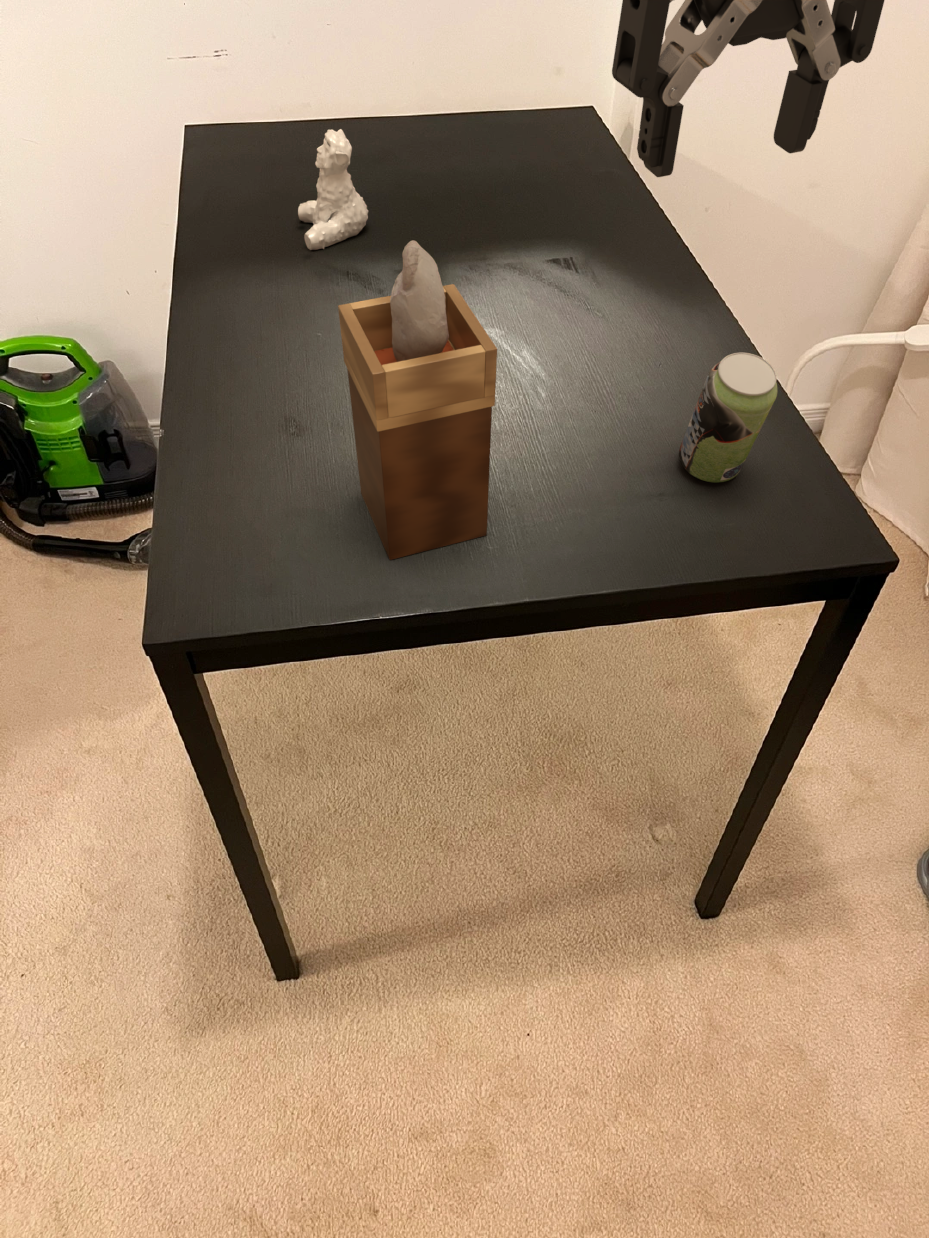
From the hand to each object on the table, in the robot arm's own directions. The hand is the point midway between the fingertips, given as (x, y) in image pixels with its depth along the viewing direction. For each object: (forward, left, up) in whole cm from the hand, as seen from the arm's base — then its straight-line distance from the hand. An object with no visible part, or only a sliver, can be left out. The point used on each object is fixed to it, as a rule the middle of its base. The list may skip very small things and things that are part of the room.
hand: (723, 159), depth 50 cm
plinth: (+15, -11, -33) cm, 38 cm away
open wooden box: (+15, -11, -19) cm, 27 cm away
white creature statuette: (+9, -64, -34) cm, 73 cm away
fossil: (+15, -11, -18) cm, 26 cm away
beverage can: (-12, -8, -34) cm, 37 cm away
